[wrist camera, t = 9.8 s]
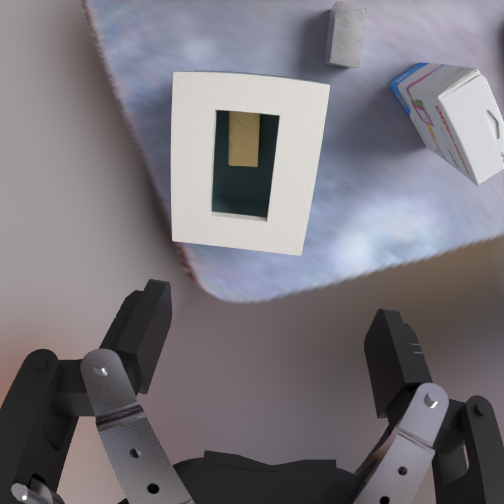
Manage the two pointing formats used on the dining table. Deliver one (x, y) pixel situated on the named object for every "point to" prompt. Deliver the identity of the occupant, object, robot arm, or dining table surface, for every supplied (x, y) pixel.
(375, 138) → the dining table surface
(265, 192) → the box
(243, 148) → the block
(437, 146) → the ink box
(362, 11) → the grey rectangular block
